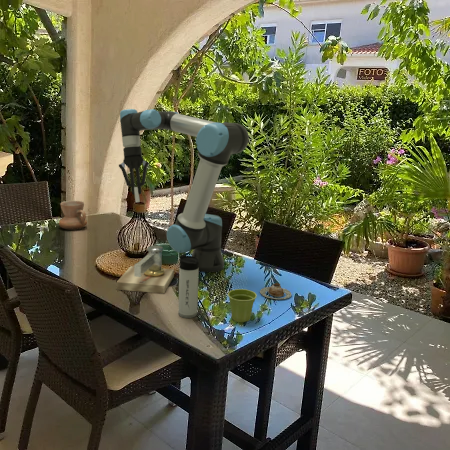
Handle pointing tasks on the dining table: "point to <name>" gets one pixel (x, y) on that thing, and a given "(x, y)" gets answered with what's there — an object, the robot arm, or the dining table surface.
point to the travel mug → (188, 286)
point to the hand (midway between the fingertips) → (137, 202)
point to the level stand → (145, 281)
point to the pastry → (276, 291)
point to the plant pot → (241, 304)
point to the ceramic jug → (73, 215)
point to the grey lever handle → (150, 263)
